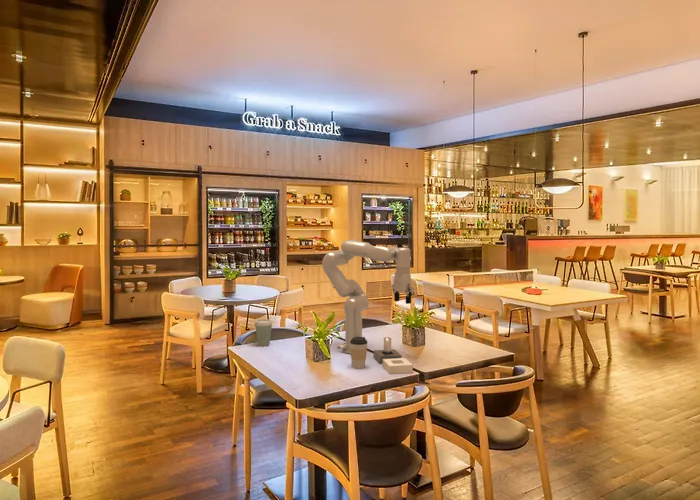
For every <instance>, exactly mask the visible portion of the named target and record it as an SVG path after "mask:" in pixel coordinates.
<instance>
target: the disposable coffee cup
mask: <svg viewBox="0 0 700 500" xmlns="http://www.w3.org/2000/svg"><path fill="white" fill-rule="evenodd" d="M254 326H255V333H256V339H257V345H258V346H259V347H268V346H270V343H271V334H272V327H273V321H272V320H271V319H266V318H260V319H256V320H255V321H254Z"/></svg>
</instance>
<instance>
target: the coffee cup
mask: <svg viewBox="0 0 700 500" xmlns="http://www.w3.org/2000/svg"><path fill="white" fill-rule="evenodd" d="M350 345H351V347H350V350H351V354H350V360H351V367H352V368H353V369H359V370H361V369H364V368H366V359H367V352H368V351H367V350H368V339H366V337H365V336H362V337H354V338H352V340H351V341H350Z"/></svg>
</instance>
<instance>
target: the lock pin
mask: <svg viewBox="0 0 700 500" xmlns="http://www.w3.org/2000/svg"><path fill="white" fill-rule="evenodd" d="M383 350H384V354H391V350H392V337H390V336H389V337H387V336H386V337H383Z"/></svg>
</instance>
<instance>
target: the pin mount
mask: <svg viewBox="0 0 700 500" xmlns="http://www.w3.org/2000/svg"><path fill="white" fill-rule="evenodd" d="M395 358H403V357H402V354H400V352H398V351H397V350H396V349H394V348H393V349H392V348H391V354H384V349H377V350H376V349H375V350H373V359H374V360H375V361H376V362H377V363H378V364H379V365H383V359H395Z"/></svg>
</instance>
